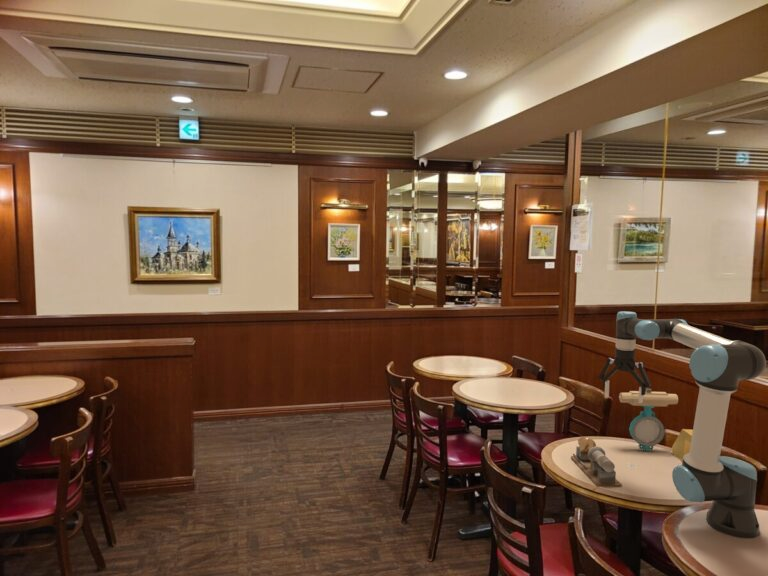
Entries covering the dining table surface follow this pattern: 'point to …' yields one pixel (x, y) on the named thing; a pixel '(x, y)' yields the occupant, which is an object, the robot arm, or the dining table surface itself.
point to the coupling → (584, 448)
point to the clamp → (682, 444)
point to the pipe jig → (598, 468)
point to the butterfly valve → (647, 416)
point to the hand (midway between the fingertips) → (623, 399)
